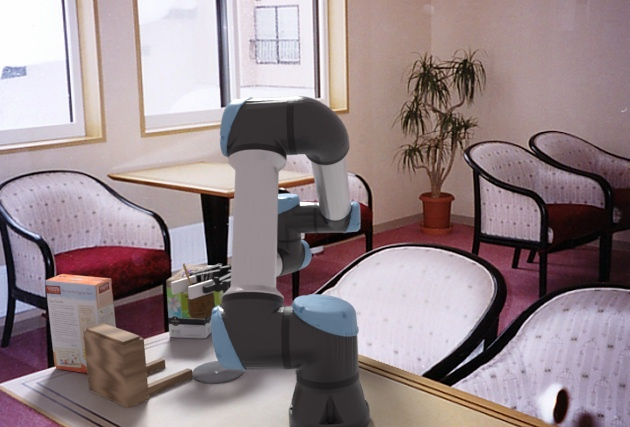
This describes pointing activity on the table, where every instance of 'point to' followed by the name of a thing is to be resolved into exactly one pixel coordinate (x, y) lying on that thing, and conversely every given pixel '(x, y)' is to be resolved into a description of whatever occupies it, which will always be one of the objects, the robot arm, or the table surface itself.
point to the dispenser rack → (123, 366)
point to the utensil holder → (200, 301)
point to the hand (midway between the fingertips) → (180, 290)
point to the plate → (215, 373)
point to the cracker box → (76, 315)
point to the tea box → (179, 312)
